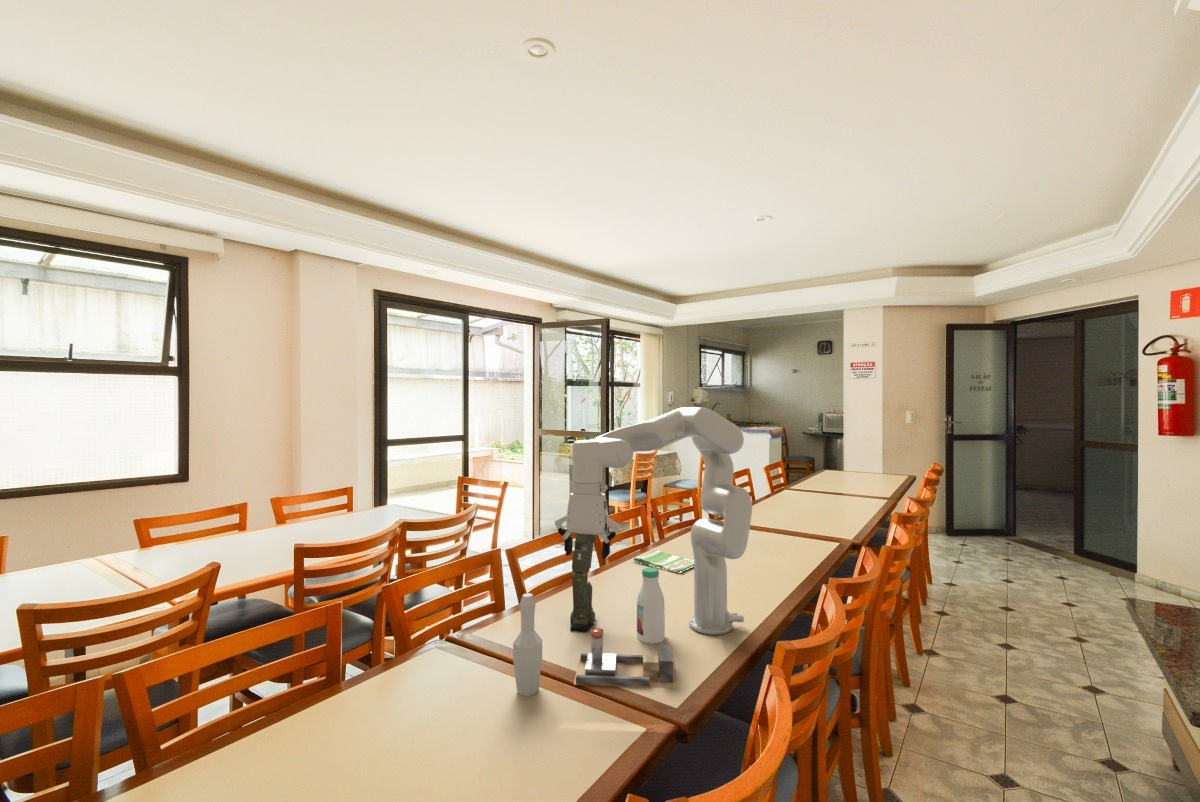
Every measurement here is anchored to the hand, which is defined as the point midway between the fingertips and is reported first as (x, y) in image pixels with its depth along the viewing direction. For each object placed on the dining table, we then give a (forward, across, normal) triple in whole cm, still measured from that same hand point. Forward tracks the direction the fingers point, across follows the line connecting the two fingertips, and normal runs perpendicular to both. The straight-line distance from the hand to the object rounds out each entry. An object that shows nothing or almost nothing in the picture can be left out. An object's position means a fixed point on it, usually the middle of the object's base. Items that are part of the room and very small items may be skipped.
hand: (587, 555), depth 134 cm
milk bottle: (+28, -13, -17) cm, 35 cm away
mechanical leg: (+28, +9, -24) cm, 37 cm away
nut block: (+26, -17, +2) cm, 31 cm away
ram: (+26, -5, +5) cm, 27 cm away
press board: (+27, -11, +4) cm, 30 cm away
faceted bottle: (+28, +9, +15) cm, 33 cm away
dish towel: (+28, -6, -90) cm, 94 cm away
